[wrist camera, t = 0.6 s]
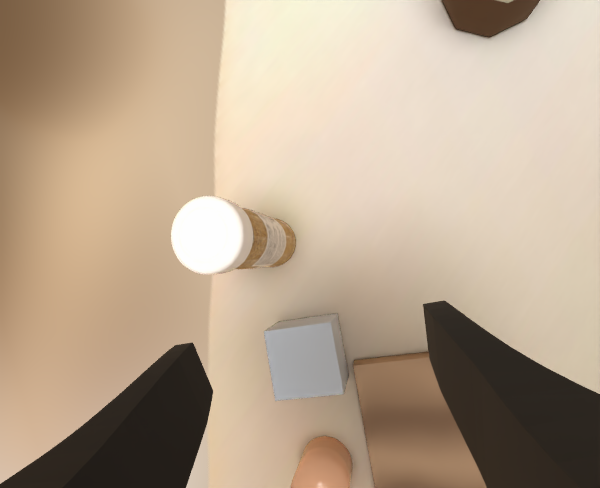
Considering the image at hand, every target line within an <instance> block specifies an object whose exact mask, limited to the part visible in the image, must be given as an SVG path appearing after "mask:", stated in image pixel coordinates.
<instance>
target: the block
mask: <svg viewBox="0 0 600 488" xmlns="http://www.w3.org/2000/svg"><path fill="white" fill-rule="evenodd" d="M264 336H265V342H266V348H267V354H268V360H269V366H270V372H271V378H272V384H273V390H274V396H275V401H279V400H290V399H300V398H310V397H321V396H331V395H341V394H344V391H345V388H346V384H347V380H348V376H349V374H348V369H347V363H346V358H345V352H344V347H343V341H342V336H341V330H340V325H339V319H338V314H337V313H334V314H327V315H320V316H313V317H306V318H300V319H293V320H286V321H279V322H277V323H276V324H274V325H273V326H271V327H270V328H268V329H267V330H265V331H264Z"/></svg>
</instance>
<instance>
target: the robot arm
mask: <svg viewBox="0 0 600 488" xmlns="http://www.w3.org/2000/svg"><path fill="white" fill-rule="evenodd" d="M423 307H424V316H425V324H426V333H427V342H428V350H429V359H430V362H431V365H432V368H433V371H434V374H435V376H436V379H437V382H438V385H439V388H440V390H441V393H442V395H443V397H444V399H445V401H446V403H447V405H448V407H449V409H450V411H451V413H452V416H453V418H454V420H455V422H456V424H457V426H458V428H459V430H460V432H461V434H462V436H463V438H464V440H465V442H466V444H467V446H468V448H469V450H470V452H471V454H472V456H473V458H474V460H475V463H476V465H477V467H478V469H479V471H480V473H481V476H482V478H483V480H484V482H485V485H486V487H487V488H600V394H598V393H596V392H594V391H591V390H589V389H587V388H585V387H583V386H581V385H579V384H577V383H575V382H573V381H571V380H569V379H567V378H565V377H563V376H561V375H559V374H557V373H555V372H553V371H551V370H549V369H548V368H546V367H544V366H542V365H540V364H538V363H537V362H535V361H533V360H532V359H530V358H528V357H526V356H525V355H523V354H521V353H520V352H518V351H516V350H515V349H513V348H511V347H510V346H508V345H507V344H505V343H504V342H502V341H501V340H499V339H498V338H496V337H495V336H493V335H492V334H490V333H489V332H487V331H486V330H484V329H483V328H482V327H480V326H479V325H477V324H476V323H475V322H473V321H472V320H470V319H469V318H468V317H466V316H465V315H464V314H462V313H461V312H460V311H458V310H457V309H456V308H454V307H453V306H452V305H450V304H449V303H447V302H446V301H439V302H433V303H427V304H423ZM212 395H213V389H212V387H211V385H210V382H209V380H208V378H207V375H206V373H205V371H204V368H203V366H202V363H201V361H200V358H199V356H198V354H197V352H196V349H195V347H194V344H193V343H187V344H181V345H175V346H174V347H173V348H171V349H170V350H169V351H167V352H166V353H165V354H164V355H163V356H161V358H159V359H158V360H157V361H156V362H155V363H154V364H153V365H151V366H150V367H149V368H148V369H147V370H146V371H145V372H144V373H143V374H141V375H140V376H139V377H138V378H137V379H136V380H135V381H134V382H133V383H132V384H130V386H128V387H127V388H126V389H125V390H124V391H123V392H122V393H120V394H119V395H118V396H117V397H116V398H115V399H114V400H112V401H111V402H110V403H109V404H108V405H106V406H105V407H104V408H103V409H102V410H101V411H99V412H98V413H97V414H96V415H95V416H93V417H92V418H91V419H90V420H89V421H88V422H86V423H85V424H84V425H83V426H81V427H80V428H79V429H78V430H76V431H75V432H74V433H73V434H71V435H70V436H69V437H67V438H66V439H65V440H63V441H62V442H61V443H59V444H58V445H57V446H55V447H54V448H52V449H51V450H50V451H48V452H47V453H45V454H44V455H43V456H41V457H40V458H39V459H37V460H35V461H34V462H32V463H31V464H29V465H28V466H26V467H25V468H23V469H22V470H21V471H19V472H17V473H16V474H15V475H13V476H12V477H10V478H9V479H7V480H6V481H4V482H3V483H1V484H0V488H186V485H187V482H188V479H189V476H190V473H191V470H192V468H193V465H194V462H195V458H196V456H197V453H198V450H199V447H200V444H201V440H202V437H203V434H204V431H205V428H206V425H207V421H208V416H209V412H210V406H211V401H212Z"/></svg>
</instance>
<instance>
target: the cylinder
mask: <svg viewBox="0 0 600 488" xmlns="http://www.w3.org/2000/svg"><path fill="white" fill-rule="evenodd" d="M351 471H352V460H351V456H350V453H349V451H348V450H347V448H346V447H345V446H344V445H343V444H342V443H341V442H340V441H338V440H337V439H334V438H332V437H327V436H321V437H317V438H315V439H313V440H311V441H310V442H309V443H308V444H307V446H306V447H305V450H304V452H303V455H302V457H301V460H300V462H299V465H298V468H297V470H296V473H295V475H294V478H293V481H292V484H291V488H349V487H350V479H351Z"/></svg>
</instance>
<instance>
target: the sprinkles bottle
mask: <svg viewBox="0 0 600 488" xmlns="http://www.w3.org/2000/svg"><path fill="white" fill-rule="evenodd" d="M171 241H172V247H173V249H174V252H175V254H176V256H177V258H178V259H179V261H180V262H181V263H182V264H183V265H184V266H185V267H187V268H188V269H190V270H191V271H193V272H196V273H199V274H221V273H226V272H230V271H232V270H234V269H246V268H248V269H253V268H262V267H275V266H279V265H282V264H283V263H285V262H286V261H287V260H289V259H290V258H291V256H292V254H293V252H294V249H295V242H296V240H295V236H294V233H293V231H292V229H291V228H290V226H289V225H288V224H286V223H285V222H283V221H281V220H279V219H273V218H271V217H269V216H266V215H263V214H260V213H257V212H254V211H252V210H249V209H245V208H241V207H240V206H239V205H237V204H236V203H234V202H232V201H229V200H226V199H223V198H219V197H215V196H202V197H198V198H195V199H193V200H191V201H189V202H188V203H187V204H185V205H184V206H183V207H182V208H181V209H180V211H179V212H178V214H177V215H176V217H175V219H174V222H173V225H172V231H171Z"/></svg>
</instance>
